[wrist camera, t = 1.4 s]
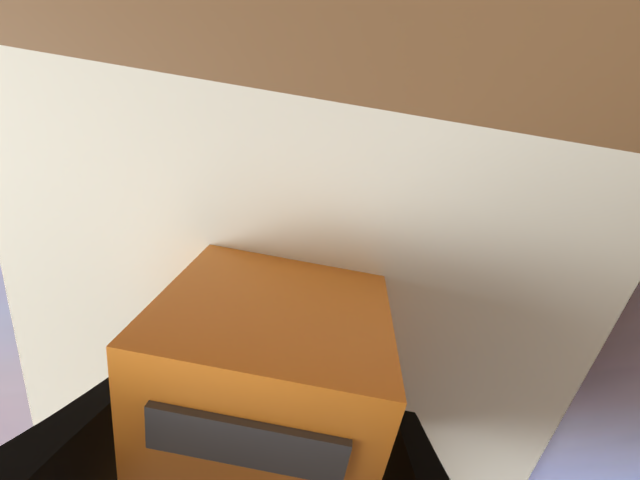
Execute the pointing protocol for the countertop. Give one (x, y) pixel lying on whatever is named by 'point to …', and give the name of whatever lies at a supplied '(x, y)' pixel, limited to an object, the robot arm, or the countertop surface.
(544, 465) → the countertop surface
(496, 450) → the drywall panel
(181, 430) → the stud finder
